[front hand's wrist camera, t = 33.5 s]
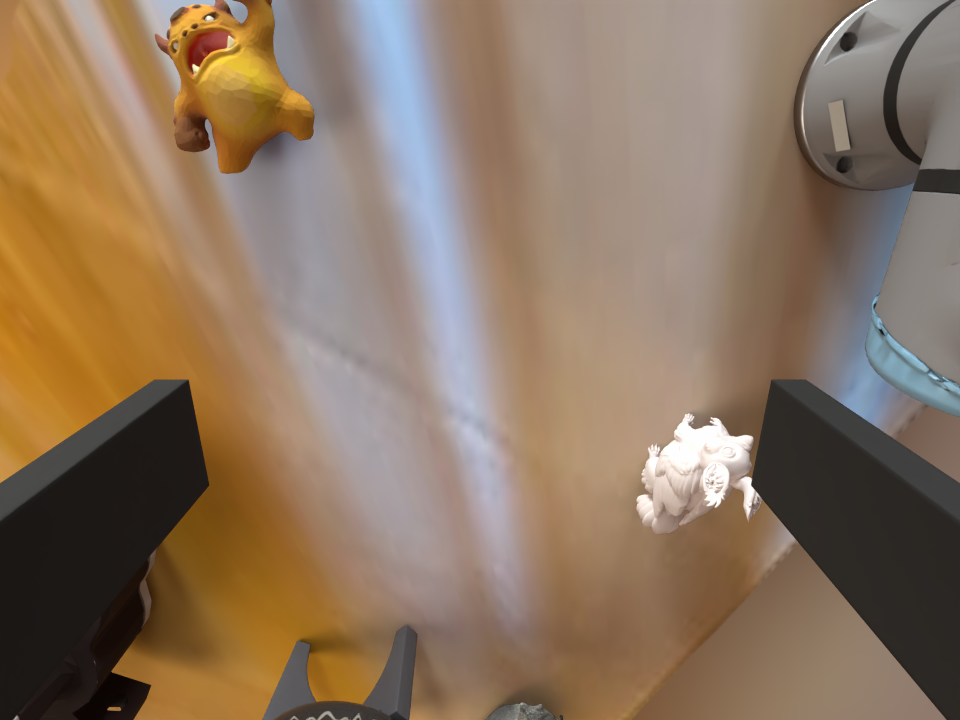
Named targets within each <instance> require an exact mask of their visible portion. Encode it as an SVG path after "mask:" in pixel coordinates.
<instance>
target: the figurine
mask: <svg viewBox="0 0 960 720" xmlns="http://www.w3.org/2000/svg"><path fill="white" fill-rule="evenodd" d="M692 415H693V414H692ZM692 415H690V413H689V414H688V415H687V414H686V415H685V418H684V419H683V421H682V423H680V424H679V426H678V427H677V430H675V432H674V434H675V435H674V437H675V439H676V440H674V441H672V442H671V443H670V444H669V445H668V446H666V447H665V448H664V449H663V450H662V452H661V453H660V455H659V457H658V454H659V451H660V448H658V449H657V444H656V445H655V447H653V444H652V446H651V450H650V448H649V449H648V451H649V459H648V460H647V462H646V465H645V468H644V470H643V473H642V480H641V481H642V483H643V484H644V485H645V489H646V490H648V492H649V493H651V494H645V495H641V496H639V497H638V498H637V500H636V501H637V503H638V505H637V511H638V512H639V517H640V518H641V519H642V523H643V525H644V526H646V527H652V530H653V531H654V533H656V534H662V533H665V532H666V533H671V532H673V531H675V530H676V529H677V528H678V526H679V525H685V524H687V523H689V522H691V521H693V520H694V519H696V518H697V517H699V516H702V515H704V514H705V513H707V512H708V511H710V510H711V509H712V508H713V507H714V506H715V508H716V507H718V506H719V505H720V504H721V502H722V501H724V500H725V499H726V498H727V497H728V496H729V495H730V493H731V492H732V490H733V488H736V489H739V490H742V491H743V493H744V510H745V512H746V515H747V520H748V522H749V519H750V518H751V519H752V514H755V512H756V511H757V510H758V509H759V508H760V505H761V500H762V499H761V497H760V496H759V494H758V493H757V492H756V491H755V490H754V489H753V487H752V486H751V482H752V479H751V478H750V477H747V476H745V475H746V474H747V473H748V472H749V470H750V469H751V467H752V465H751V461H750V452H749V451H751V450H752V446H753V443H754V438H753V437H752V436H749V435H743V436H739V437H734V436H730V435H729V434H728V431H727V430H726V428H725V427H724V426H723V425H722V423H721V421H720V420H719V419H717V418H712V417H710V418H711V419H712V420H713V421H714V422H713V421H710V423H711V424H713V425H714V426H704V427H703V428H699V429H693V428H691V427H690V425H692V424H694V423H693V422H691V421H692V420H693V419H694V417H695V416H694V417H692ZM689 416H690V417H689ZM654 448H655V449H654ZM684 510H689V512H688V513H687V514H686V515H685V517H684Z"/></svg>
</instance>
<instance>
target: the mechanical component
mask: <svg viewBox="0 0 960 720" xmlns="http://www.w3.org/2000/svg"><path fill="white" fill-rule="evenodd" d="M156 550H157V548H156ZM156 550H155V551H154V552H153V553H152V554H151V556H150V557H149V558H148V559H147V560H146V562H145V563H144V564H143V565H142V566H141V568H140V569H139V570H138V571H137V572H136V574H135V575H134V576H133V577H132V578H131V579H130V581H129V582H128V583H127V584H126V585H125V587H124V588H123V589H122V590H121V591H120V593H119V594H118V595H117V596H116V597H115V599H114V600H113V601H112V602H111V603H110V605H109V606H108V607H107V608H106V609H105V611H104V612H103V613H102V614H101V615H100V617H99V618H98V619H97V620H96V621H95V623H94V624H93V625H92V626H91V627H90V629H89V630H88V631H87V632H86V633H85V635H84V636H83V637H82V638H81V639H80V641H79V642H78V643H77V644H76V645H75V647H74V648H73V649H72V650H71V651H70V653H69V654H68V655H67V656H66V657H65V659H64V660H63V661H62V662H61V663H60V664H59V666H58V667H57V668H56V669H55V670H54V672H53V673H52V674H51V675H50V676H49V678H48V679H47V680H46V681H45V682H44V684H43V685H42V686H41V687H40V688H39V690H38V691H37V692H36V693H35V694H34V696H33V697H32V698H31V699H30V700H29V702H28V703H27V704H26V705H25V706H24V708H23V709H22V710H21V711H20V712H19V714H18V715H17V716H16V717H15V718H14V720H133V719H134V718H135V716H136V715H137V713H138V711H139V710H140V708H141V707H142V705H143V703H144V702H145V700H146V698H147V695H148V693H149V690H150V687H151V685H149V684H146V683H143V682H140V681H136V680H133V679H130V678H127V677H124V676H121V675H118V674H115V673H112V672H111V671H112V669H113V668H114V667H115V665H116V664H117V663H118V661H119V660H120V658H121V657H122V656H123V654H124V653H125V652H126V650H127V649H128V647H129V646H130V645H131V643H132V642H133V641H134V639H135V638H136V636H137V635H138V634H139V632H140V631H141V629H142V628H143V626H144V624H145V623H146V621H147V620H148V618H149V616H150V609H151V602H152V601H151V597H150V594H149V590H148V587H147V583H146V580H145V579H146V577H147V575H148V574H149V572H150V570H151V569H152V567H153V565H154V562H155V556H156ZM109 707H120V708H121V711H108V710H107V709H108V708H109Z"/></svg>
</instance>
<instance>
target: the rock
mask: <svg viewBox="0 0 960 720" xmlns="http://www.w3.org/2000/svg"><path fill="white" fill-rule="evenodd" d="M520 707H521V709H519V708H520ZM560 719H561V720H563V716H562V715H560ZM486 720H559V719H558V718H555V716H554V715H552V714H551V713H549V712H548V711H547V710H546V709H544V708H543V706H542V704H538V705H537V706H531V705H529V706H528V705H527V704H525V703H524V702H522V703H520V704H517V703H516V704H514V705H509V704H504V705H503V706H501V707H499V708H498V709H497V710H496V711H494V712H493V713H492V714H491V715H490V716H489V717H488V718H487V719H486Z"/></svg>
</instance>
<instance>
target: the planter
mask: <svg viewBox="0 0 960 720" xmlns="http://www.w3.org/2000/svg"><path fill="white" fill-rule="evenodd" d="M416 643H417V633H415V632H414V631H413V630H412V629H411V628H410V627H408V626H407V625H406V626H404V627H403V628H401V629H400V630H398V631H397V633H396V636H395V640H394V644H393V647H392V651H391V654H390V656H389V659H388V661H387V664H386V666H385V669H384V671H383V673H382V675H381V677H380V679H379V680H378V682H377V684H376V686H375V687H374V689H373V690H372V692H371V694H370V695H369V696H368V698H367V699H366V700H365V702H364V703H363V704H362V705H361V704H357V703H351V702H343V701H320V702H316V700H315V698H314V697H313V695H312V692H311V690H310V687H309V683H308V677H307V661H308V656H309V651H310V646H311V644H308V643H304V642H300V641H297V642H296V645H295V647H294V649H293V651H292V654H291V656H290V658H289V660H288V663H287V665H286V667H285V670H284V672H283V674H282V676H281V679H280V681H279V683H278V685H277V688H276V690H275V692H274V694H273V697H272V699H271V701H270V703H269V706H268V708H267V710H266V713H265V715H264V717H263V719H262V720H409V718H410V707H411V696H412V685H413V675H414V664H415V654H416Z"/></svg>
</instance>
